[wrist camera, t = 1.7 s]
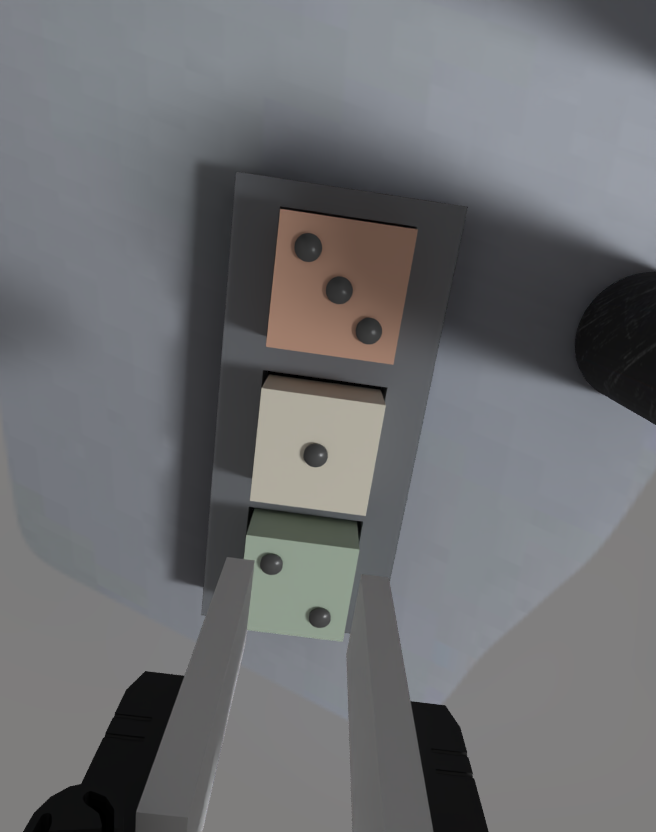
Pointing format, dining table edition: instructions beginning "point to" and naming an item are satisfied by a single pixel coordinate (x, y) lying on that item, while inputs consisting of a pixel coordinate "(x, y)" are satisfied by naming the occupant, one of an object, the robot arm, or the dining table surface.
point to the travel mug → (622, 344)
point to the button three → (339, 286)
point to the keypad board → (324, 361)
